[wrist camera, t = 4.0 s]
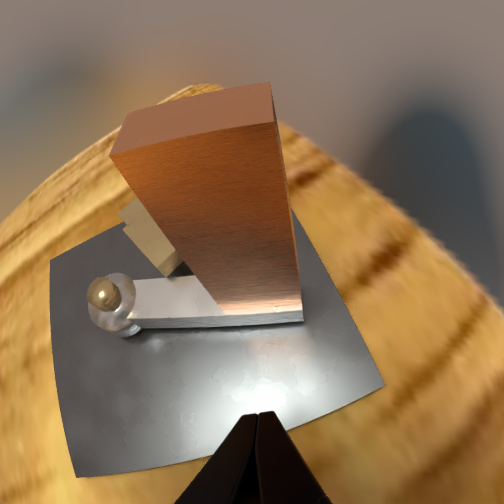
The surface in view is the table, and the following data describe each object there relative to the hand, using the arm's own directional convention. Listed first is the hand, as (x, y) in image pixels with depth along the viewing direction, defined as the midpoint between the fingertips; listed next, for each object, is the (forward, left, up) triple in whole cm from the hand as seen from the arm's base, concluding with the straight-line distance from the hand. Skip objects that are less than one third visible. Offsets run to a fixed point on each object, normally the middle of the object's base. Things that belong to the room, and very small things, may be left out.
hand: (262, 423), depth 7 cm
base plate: (+9, +5, -10) cm, 14 cm away
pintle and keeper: (+11, +4, -10) cm, 15 cm away
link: (+8, +3, -8) cm, 12 cm away
